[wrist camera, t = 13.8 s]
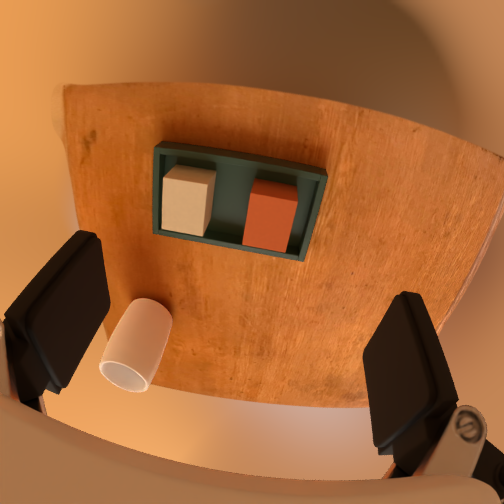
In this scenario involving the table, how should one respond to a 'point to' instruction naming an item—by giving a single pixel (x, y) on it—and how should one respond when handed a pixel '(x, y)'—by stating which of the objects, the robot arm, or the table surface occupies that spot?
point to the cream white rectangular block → (187, 199)
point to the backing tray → (240, 194)
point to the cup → (137, 345)
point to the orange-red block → (270, 215)
